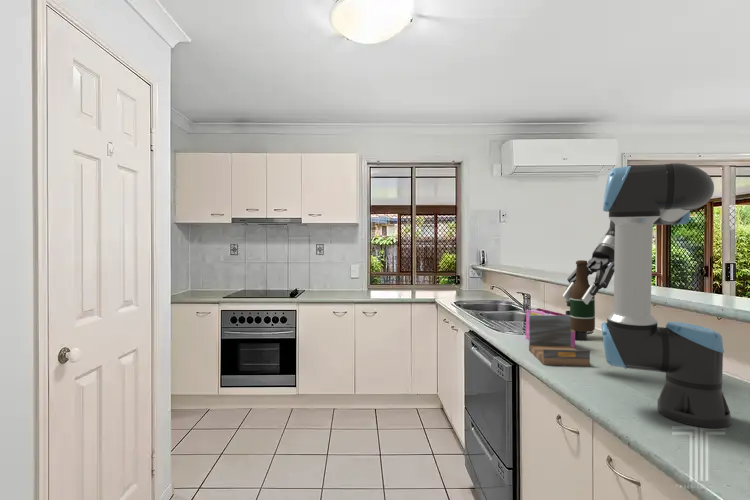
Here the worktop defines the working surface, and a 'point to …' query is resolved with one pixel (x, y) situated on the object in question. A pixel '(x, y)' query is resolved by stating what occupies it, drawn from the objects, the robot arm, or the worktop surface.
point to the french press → (578, 334)
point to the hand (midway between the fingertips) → (574, 300)
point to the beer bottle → (581, 301)
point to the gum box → (546, 312)
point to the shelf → (554, 341)
